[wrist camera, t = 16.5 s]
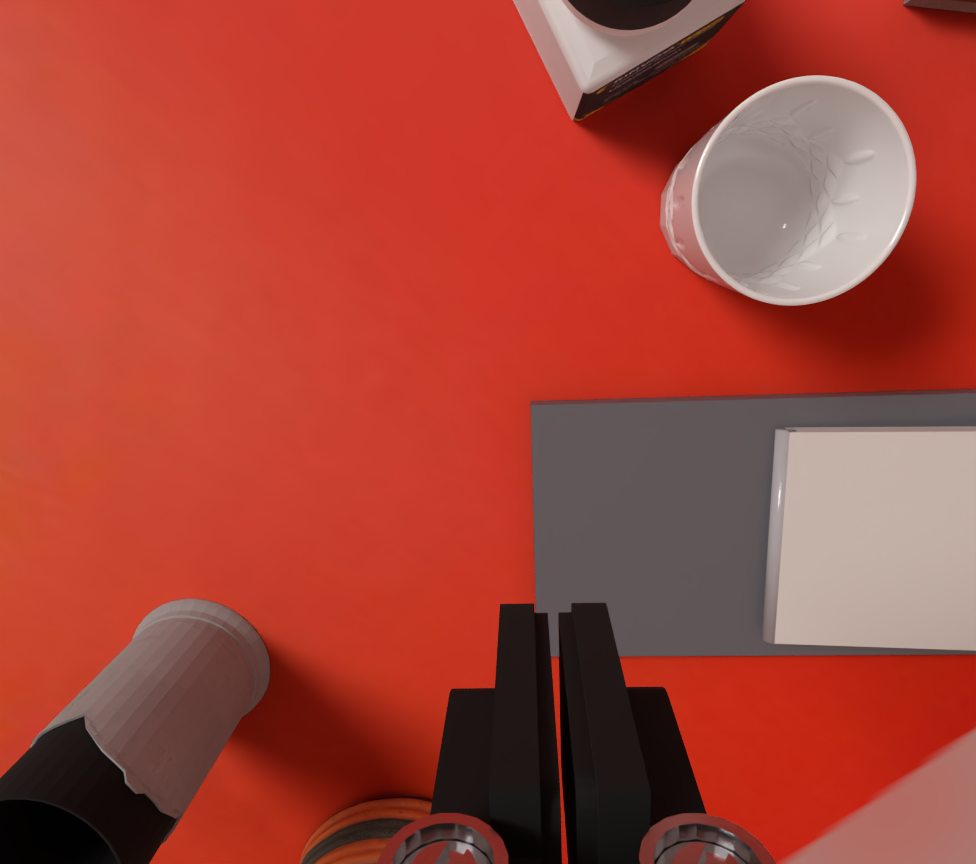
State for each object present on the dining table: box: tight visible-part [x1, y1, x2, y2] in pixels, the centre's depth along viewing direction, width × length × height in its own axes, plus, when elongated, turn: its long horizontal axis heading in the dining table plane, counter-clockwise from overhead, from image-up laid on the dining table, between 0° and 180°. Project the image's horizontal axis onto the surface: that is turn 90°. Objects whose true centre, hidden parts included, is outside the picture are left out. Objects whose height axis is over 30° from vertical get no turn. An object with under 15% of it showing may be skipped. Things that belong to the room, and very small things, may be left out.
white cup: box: [660, 75, 917, 306], centre depth 30 cm, size 8×8×10 cm
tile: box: [762, 426, 976, 651], centre depth 36 cm, size 13×12×1 cm
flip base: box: [531, 389, 976, 657], centre depth 38 cm, size 26×15×1 cm, turn 92°
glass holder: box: [0, 599, 271, 864], centre depth 36 cm, size 9×14×15 cm, turn 127°
